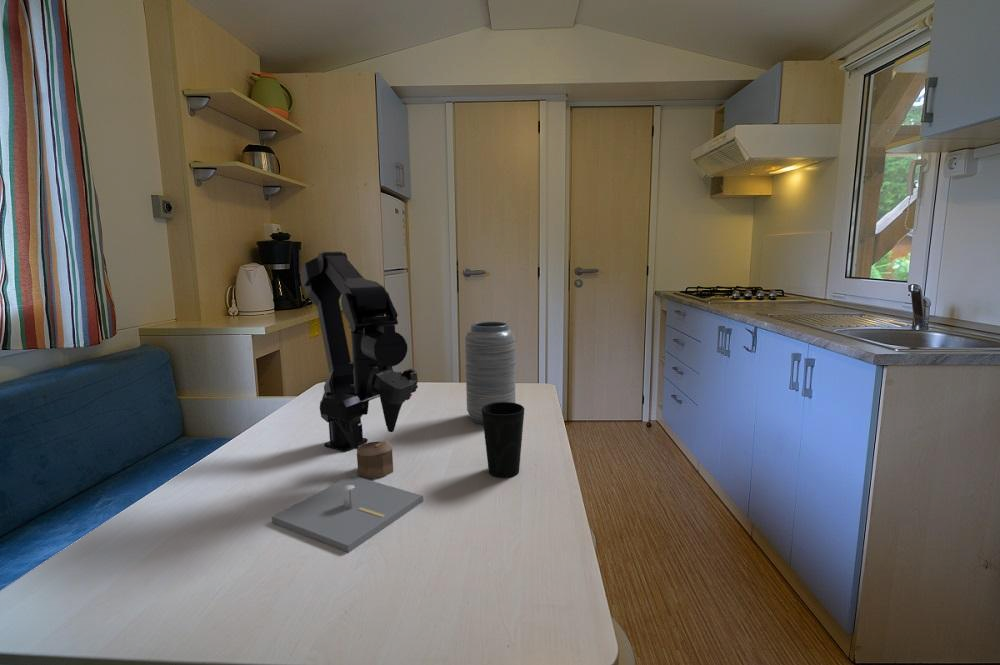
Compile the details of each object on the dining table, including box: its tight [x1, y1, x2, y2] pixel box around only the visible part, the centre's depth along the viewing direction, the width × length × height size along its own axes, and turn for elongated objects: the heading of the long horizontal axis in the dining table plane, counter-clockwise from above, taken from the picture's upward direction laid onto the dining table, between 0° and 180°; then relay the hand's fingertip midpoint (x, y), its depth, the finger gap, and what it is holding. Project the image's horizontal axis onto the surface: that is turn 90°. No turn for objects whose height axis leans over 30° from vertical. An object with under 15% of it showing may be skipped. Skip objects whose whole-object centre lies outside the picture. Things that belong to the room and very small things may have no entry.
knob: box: [356, 440, 394, 480], centre depth 94 cm, size 6×6×5 cm
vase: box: [464, 321, 517, 425], centre depth 120 cm, size 12×12×23 cm
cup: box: [482, 402, 525, 479], centre depth 92 cm, size 8×8×12 cm
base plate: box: [271, 475, 424, 553], centre depth 79 cm, size 16×16×4 cm
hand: (373, 439), depth 93 cm, fingers open, 9 cm apart
